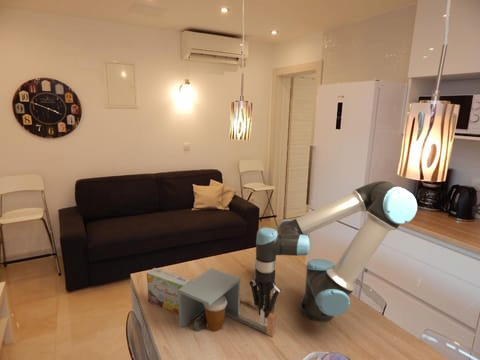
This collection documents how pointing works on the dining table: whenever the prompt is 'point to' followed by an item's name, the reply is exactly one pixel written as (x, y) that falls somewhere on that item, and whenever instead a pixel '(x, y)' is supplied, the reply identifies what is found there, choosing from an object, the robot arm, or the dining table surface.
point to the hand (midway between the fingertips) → (263, 323)
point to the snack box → (165, 289)
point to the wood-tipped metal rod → (268, 330)
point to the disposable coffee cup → (216, 313)
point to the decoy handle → (251, 304)
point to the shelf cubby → (208, 294)
